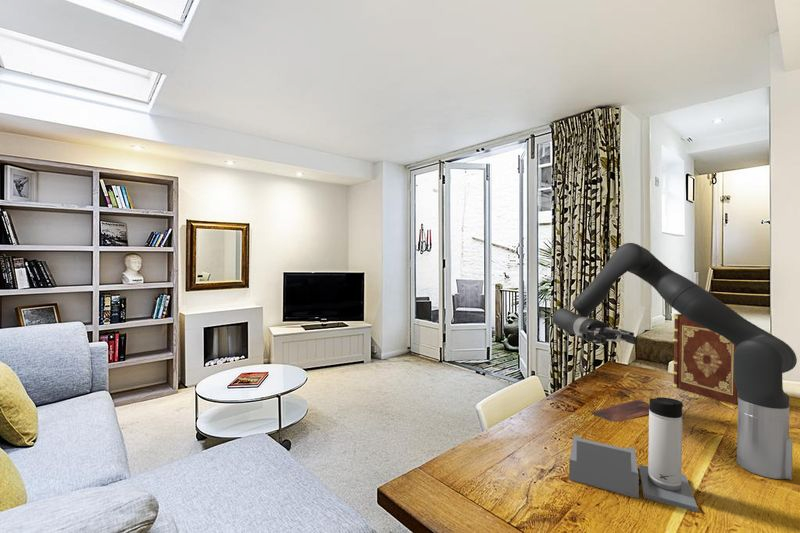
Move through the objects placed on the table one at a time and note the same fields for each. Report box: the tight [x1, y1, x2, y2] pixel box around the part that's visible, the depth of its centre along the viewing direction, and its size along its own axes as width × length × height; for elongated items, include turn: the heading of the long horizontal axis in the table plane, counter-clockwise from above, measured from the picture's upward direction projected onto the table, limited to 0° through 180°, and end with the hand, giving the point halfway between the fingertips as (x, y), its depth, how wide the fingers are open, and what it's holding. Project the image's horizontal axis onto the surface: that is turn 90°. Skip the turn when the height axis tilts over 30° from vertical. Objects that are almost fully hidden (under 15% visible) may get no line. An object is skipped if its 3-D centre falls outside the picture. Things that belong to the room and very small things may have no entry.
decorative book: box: [672, 313, 738, 406], centre depth 143 cm, size 22×8×30 cm, turn 25°
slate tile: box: [638, 464, 699, 513], centre depth 84 cm, size 10×13×1 cm
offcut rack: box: [568, 434, 640, 500], centre depth 90 cm, size 14×14×10 cm
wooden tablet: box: [591, 399, 650, 423], centre depth 127 cm, size 26×2×10 cm
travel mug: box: [647, 397, 684, 491], centre depth 84 cm, size 6×7×20 cm
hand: (620, 340), depth 103 cm, fingers open, 8 cm apart
